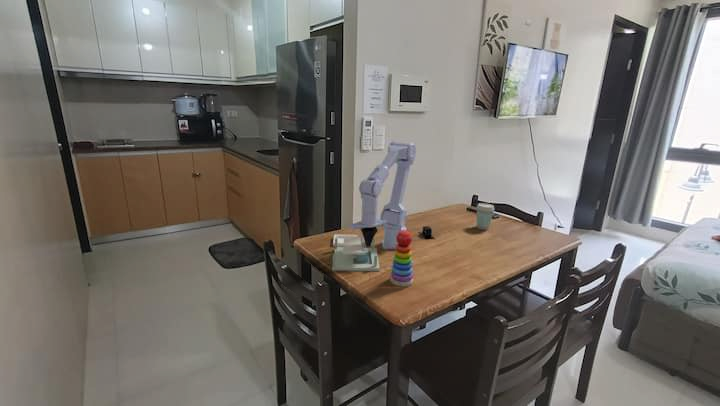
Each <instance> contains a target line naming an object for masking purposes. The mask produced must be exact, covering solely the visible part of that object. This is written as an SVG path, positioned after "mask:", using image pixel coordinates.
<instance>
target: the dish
mask: <svg viewBox="0 0 720 406" xmlns="http://www.w3.org/2000/svg"><path fill="white" fill-rule="evenodd" d="M344 236H351V237H358V235H357V234H333V242H332V247H334V248H335V238H338V239H337V247H343V246H344Z"/></svg>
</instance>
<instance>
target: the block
mask: <svg viewBox="0 0 720 406" xmlns="http://www.w3.org/2000/svg"><path fill="white" fill-rule="evenodd" d="M368 248H369V247H365V254H357V262H368Z"/></svg>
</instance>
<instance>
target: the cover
mask: <svg viewBox="0 0 720 406" xmlns="http://www.w3.org/2000/svg"><path fill="white" fill-rule="evenodd" d="M365 248H366V245H365V240H364V236H357V237H351V236H344V246H343V254H365Z"/></svg>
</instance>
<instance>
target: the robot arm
mask: <svg viewBox="0 0 720 406" xmlns="http://www.w3.org/2000/svg"><path fill="white" fill-rule="evenodd" d="M416 152H417V150H416V146H415V144H414V143H413V142H404V141H403V142H402V141H395V140H392V141H391V142H390V143H389V145H388V147H387V153H386V155H385V158H383V161H382V162H381V164H380V165H379V164H378V165H376V166H375V168H374V169H373V170H372V172H371V173H370V174H369V176H368V177H367V178H365V179H363V180H362V181H360V185H359V187H358V191H359V193H360V199H362V200H361V219H360V220H361V221H357V222H355V223H350V224H349V229H350V230H351V231H352V232H353V231H356V230H360V232H361V233H362V235H363V236H362V237H364V241H365V247H366V248H369V247H372V240H373V239H375V236H376V234H377V232H378V228H377V227H383V240H381V246H382V249H384V250H397V249H396V245H397V244H398V242H397V239H396V237H397V234H398V233H399V232H400V231H407V228H406V227H407V226H405V225H406V222H407V212H408V210H407V209H406V208H405V206H403V200H404V195H405V191H406V187H407V182H408V177H409V172H410V168H411V166H413V165H414V161H415V157H416ZM395 164H396V165H397V167H396V171H395V176H394V181H393V186H392V190H391V196H390V200H389V202H388V203H386V204H385V205H383V208H382V211H381V213H380V215H379V216H380V218H379V219H378V203H379V196H380V195H381V193H382V189H383V185H384V183H385V181H386V180H387V179H388V177H389V175H390V172H389V170H390V169H392V167H393V166H394V165H395Z"/></svg>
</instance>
